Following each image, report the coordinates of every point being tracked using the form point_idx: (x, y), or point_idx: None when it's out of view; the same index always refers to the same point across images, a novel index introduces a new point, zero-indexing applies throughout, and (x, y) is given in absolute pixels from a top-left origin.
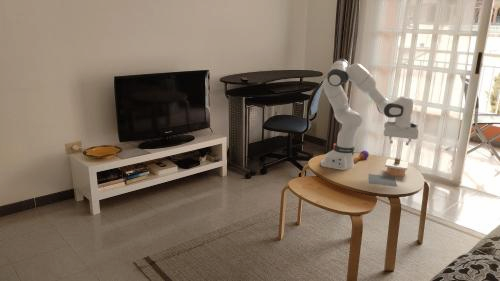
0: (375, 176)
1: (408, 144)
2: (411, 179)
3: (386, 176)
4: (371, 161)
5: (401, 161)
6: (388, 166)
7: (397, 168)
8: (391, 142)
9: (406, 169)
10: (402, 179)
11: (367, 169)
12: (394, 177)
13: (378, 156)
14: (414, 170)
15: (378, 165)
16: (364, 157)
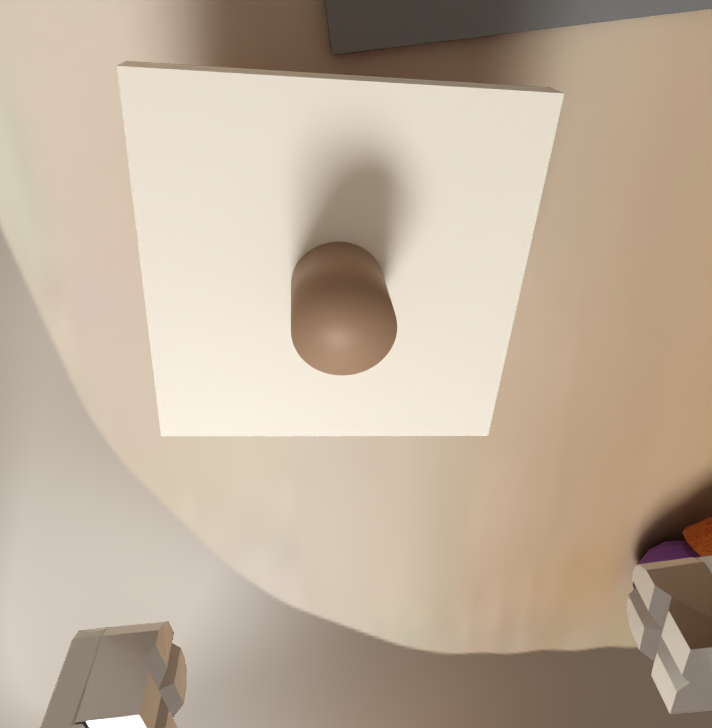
0: None
1: (64, 661)
2: (75, 75)
3: (463, 6)
4: (596, 508)
5: (270, 415)
6: (491, 84)
7: (314, 73)
8: (700, 588)
9: (133, 62)
10: (207, 5)
11: (698, 232)
12: (336, 14)
13: (507, 647)
14: (114, 447)
15: (532, 428)
16: (687, 537)
